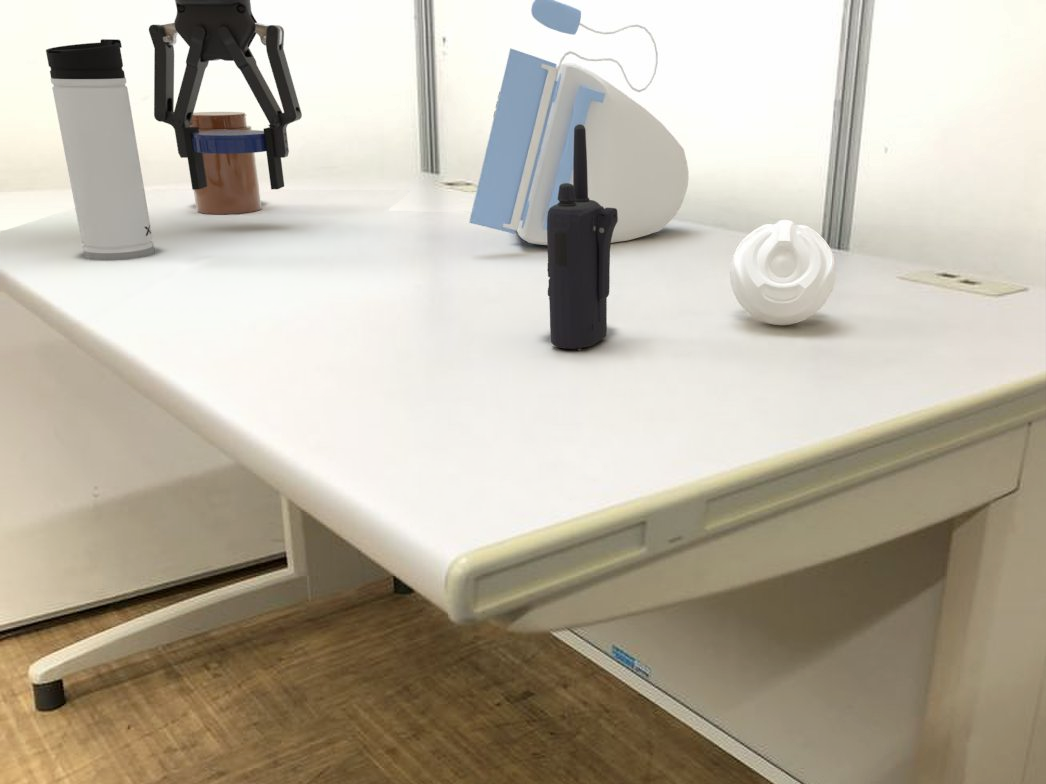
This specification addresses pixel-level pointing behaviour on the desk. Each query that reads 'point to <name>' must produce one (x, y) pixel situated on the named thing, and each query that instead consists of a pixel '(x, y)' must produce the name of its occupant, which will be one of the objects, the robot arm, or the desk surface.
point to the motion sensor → (782, 273)
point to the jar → (227, 170)
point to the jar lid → (229, 141)
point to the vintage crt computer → (548, 145)
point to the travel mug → (101, 149)
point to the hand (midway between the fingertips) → (238, 187)
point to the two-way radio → (578, 259)
